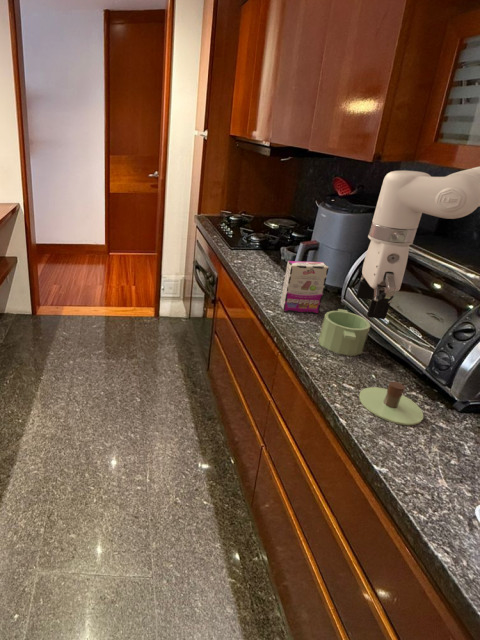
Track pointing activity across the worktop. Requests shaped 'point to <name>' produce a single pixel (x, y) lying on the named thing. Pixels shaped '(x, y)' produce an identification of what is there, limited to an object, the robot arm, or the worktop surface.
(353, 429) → the worktop surface
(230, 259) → the worktop surface
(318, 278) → the candy bar box
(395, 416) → the lid
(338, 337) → the pot
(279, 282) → the worktop surface
